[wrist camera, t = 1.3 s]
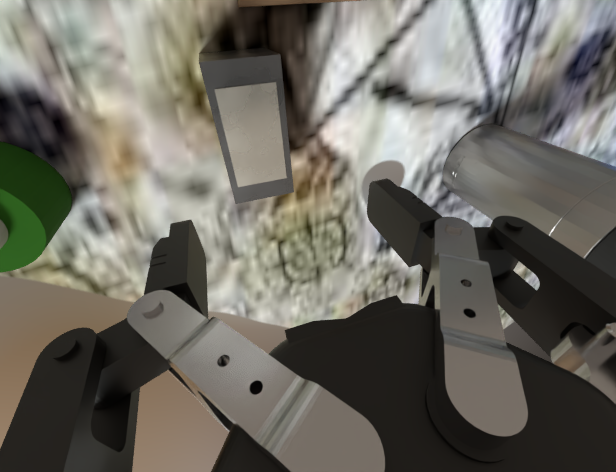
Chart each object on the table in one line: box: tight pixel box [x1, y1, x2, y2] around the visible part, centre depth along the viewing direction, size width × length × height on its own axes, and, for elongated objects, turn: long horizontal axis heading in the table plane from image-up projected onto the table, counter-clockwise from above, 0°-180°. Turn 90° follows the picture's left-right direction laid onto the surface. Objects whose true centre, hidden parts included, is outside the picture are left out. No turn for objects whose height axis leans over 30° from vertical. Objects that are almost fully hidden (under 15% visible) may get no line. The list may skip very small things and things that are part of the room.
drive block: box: [199, 48, 294, 204], centre depth 22 cm, size 5×10×6 cm, turn 3°
